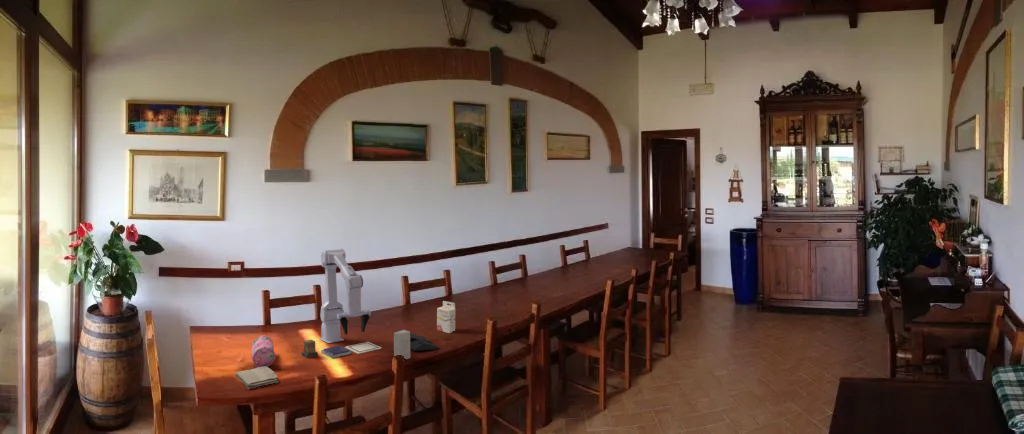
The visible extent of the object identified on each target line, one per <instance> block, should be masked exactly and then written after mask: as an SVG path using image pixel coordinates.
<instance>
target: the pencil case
mask: <svg viewBox="0 0 1024 434" xmlns="http://www.w3.org/2000/svg"><path fill="white" fill-rule="evenodd" d="M251 343H252V344H251V354H250V355H251V356H250V357H251V360H252V362H253V365H254V366H255V367H256V368H257V367H262V366H267V367H268V368H269V367H270V366H271V365H272V364H273V363H274V362H275V360H276V352H275V349H274V347H275V346H274V342H273V340H272V338H271V337H270V336H267V335H262V334H261V335H260V336H258V337H257V338H256V339H254V340H253V341H252V342H251Z"/></svg>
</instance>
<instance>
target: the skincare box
mask: <svg viewBox="0 0 1024 434" xmlns="http://www.w3.org/2000/svg"><path fill="white" fill-rule="evenodd" d="M410 333H411V331H410V330H406V329H401V330H399V331H395V332H393V357H394V356H396V355H402V356H404V358H405V359H406V360H409V359H411V350H410Z"/></svg>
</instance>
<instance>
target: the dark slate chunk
mask: <svg viewBox="0 0 1024 434" xmlns="http://www.w3.org/2000/svg"><path fill="white" fill-rule="evenodd" d="M438 348H439V349H440V347H439V346H437V345H436V344H434V343H433V342H431V340H429V339H428V338H426V337H424V335H419V334H416V333H413V332H410V351H412V352H424V351H434V350H435V351H437V350H439V349H438Z"/></svg>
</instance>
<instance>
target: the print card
mask: <svg viewBox="0 0 1024 434" xmlns="http://www.w3.org/2000/svg"><path fill="white" fill-rule="evenodd" d="M344 348H346V349H348V350H349V351H351V352H353V353H355V354H358V355H359V354H364V353H369V352H373V351H376V350H381V349H382V347H381V346H379V345H376V344H374V343H372V342H370V341H365V342H361V343H357V344H356V343H355V344H352V345H347V346H344Z"/></svg>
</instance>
